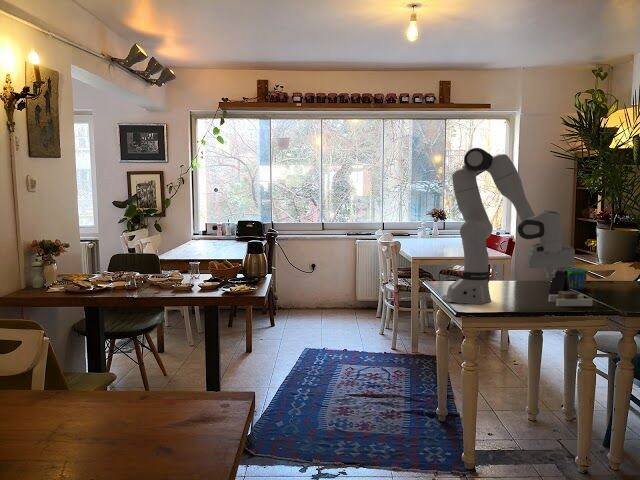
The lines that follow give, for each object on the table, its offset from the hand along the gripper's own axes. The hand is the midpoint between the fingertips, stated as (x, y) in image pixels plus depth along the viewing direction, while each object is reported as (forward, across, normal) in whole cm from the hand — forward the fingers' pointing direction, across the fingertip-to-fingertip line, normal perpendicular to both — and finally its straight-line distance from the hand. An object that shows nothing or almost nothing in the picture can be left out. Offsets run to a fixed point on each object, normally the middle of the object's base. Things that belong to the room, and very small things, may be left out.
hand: (550, 277), depth 228 cm
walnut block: (+12, -8, 0) cm, 14 cm away
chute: (+13, -9, 0) cm, 16 cm away
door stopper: (+13, -16, -28) cm, 35 cm away
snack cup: (+13, -29, -40) cm, 51 cm away
